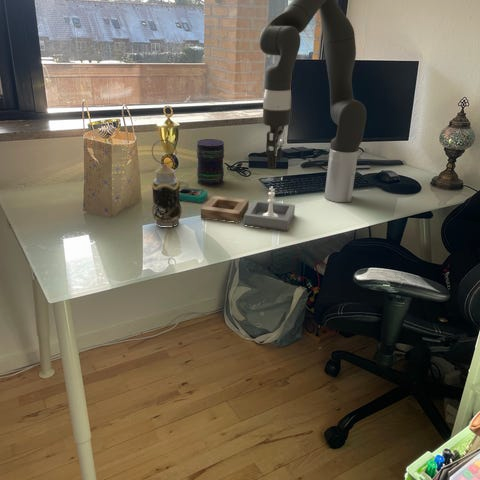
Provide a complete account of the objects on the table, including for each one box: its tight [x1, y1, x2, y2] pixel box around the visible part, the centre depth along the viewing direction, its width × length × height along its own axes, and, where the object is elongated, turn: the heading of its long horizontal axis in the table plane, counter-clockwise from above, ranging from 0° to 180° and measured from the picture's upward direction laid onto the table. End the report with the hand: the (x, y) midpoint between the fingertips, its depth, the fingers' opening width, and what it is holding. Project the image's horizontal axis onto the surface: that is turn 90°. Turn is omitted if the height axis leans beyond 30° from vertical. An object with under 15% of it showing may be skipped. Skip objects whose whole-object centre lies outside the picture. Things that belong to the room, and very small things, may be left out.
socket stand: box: [200, 195, 250, 223], centre depth 144 cm, size 12×12×3 cm
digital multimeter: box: [179, 187, 208, 204], centre depth 156 cm, size 7×15×3 cm, turn 76°
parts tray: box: [243, 199, 296, 233], centre depth 139 cm, size 13×13×4 cm
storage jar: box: [196, 138, 225, 187], centre depth 168 cm, size 10×10×15 cm
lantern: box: [151, 139, 183, 226], centre depth 131 cm, size 9×8×25 cm
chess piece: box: [263, 186, 278, 217], centre depth 138 cm, size 5×5×10 cm
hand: (274, 164), depth 132 cm, fingers open, 8 cm apart
